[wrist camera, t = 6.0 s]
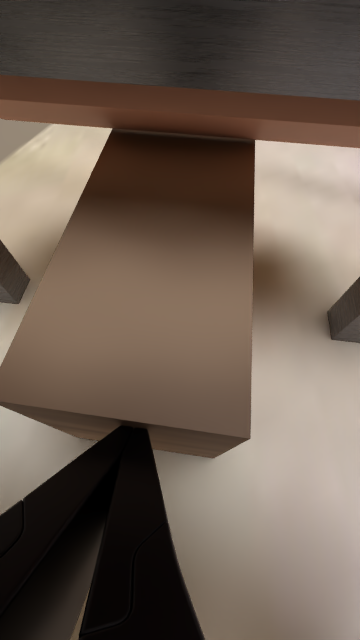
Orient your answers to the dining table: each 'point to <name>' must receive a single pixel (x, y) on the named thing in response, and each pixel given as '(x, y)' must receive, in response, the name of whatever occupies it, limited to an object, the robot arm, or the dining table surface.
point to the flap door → (181, 110)
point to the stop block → (147, 300)
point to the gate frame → (189, 63)
